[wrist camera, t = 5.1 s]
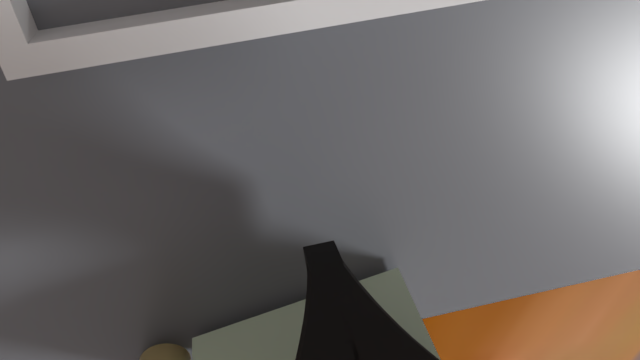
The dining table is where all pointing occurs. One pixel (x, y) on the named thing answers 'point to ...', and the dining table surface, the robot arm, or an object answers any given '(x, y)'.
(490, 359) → the dining table surface
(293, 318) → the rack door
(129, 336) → the console
